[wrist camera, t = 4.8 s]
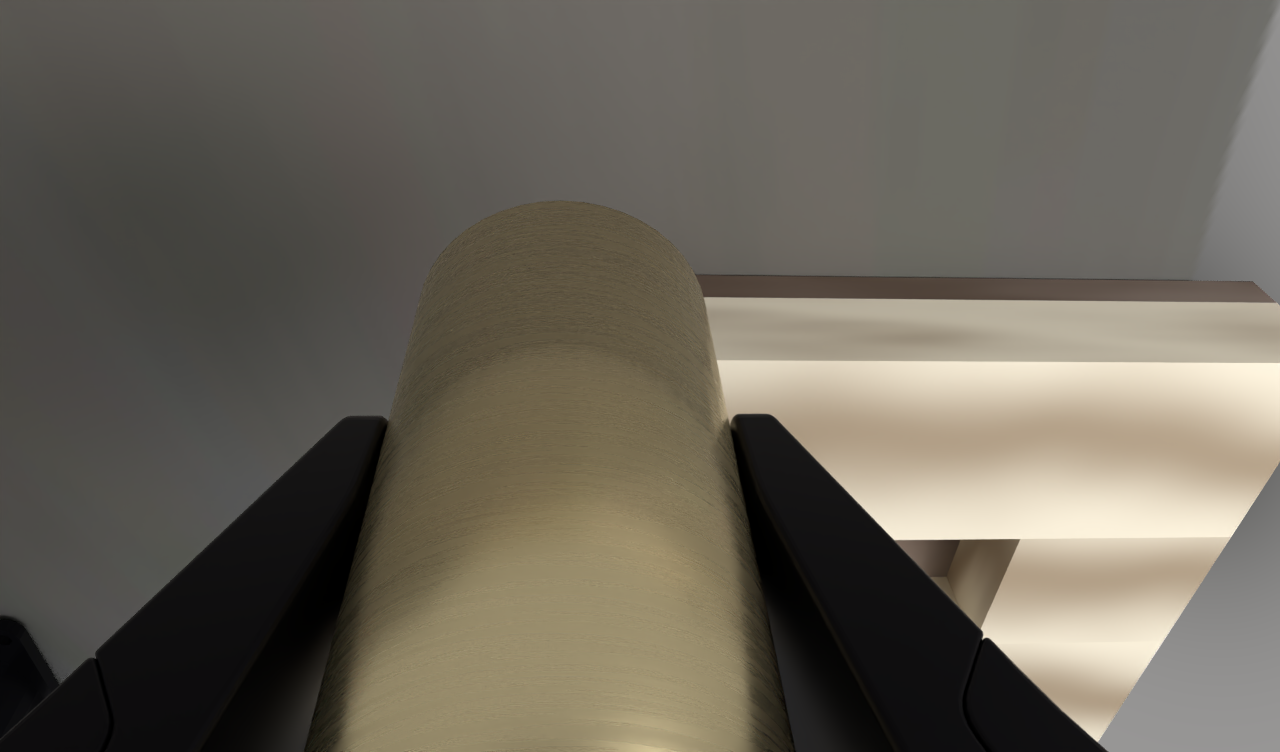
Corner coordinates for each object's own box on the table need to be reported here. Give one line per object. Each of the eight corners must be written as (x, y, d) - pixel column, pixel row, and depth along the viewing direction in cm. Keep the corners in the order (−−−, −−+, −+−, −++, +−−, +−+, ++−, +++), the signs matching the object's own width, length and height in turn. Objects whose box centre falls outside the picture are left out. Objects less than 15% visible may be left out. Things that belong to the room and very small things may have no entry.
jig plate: (1051, 656, 33) (1094, 746, 30) (613, 664, 32) (615, 758, 29) (1253, 281, 23) (1343, 363, 20) (630, 274, 22) (637, 360, 19)
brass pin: (695, 438, 12) (822, 1253, 6) (434, 440, 12) (270, 1292, 6) (719, 202, 10) (955, 1084, 4) (400, 199, 10) (82, 1133, 4)
